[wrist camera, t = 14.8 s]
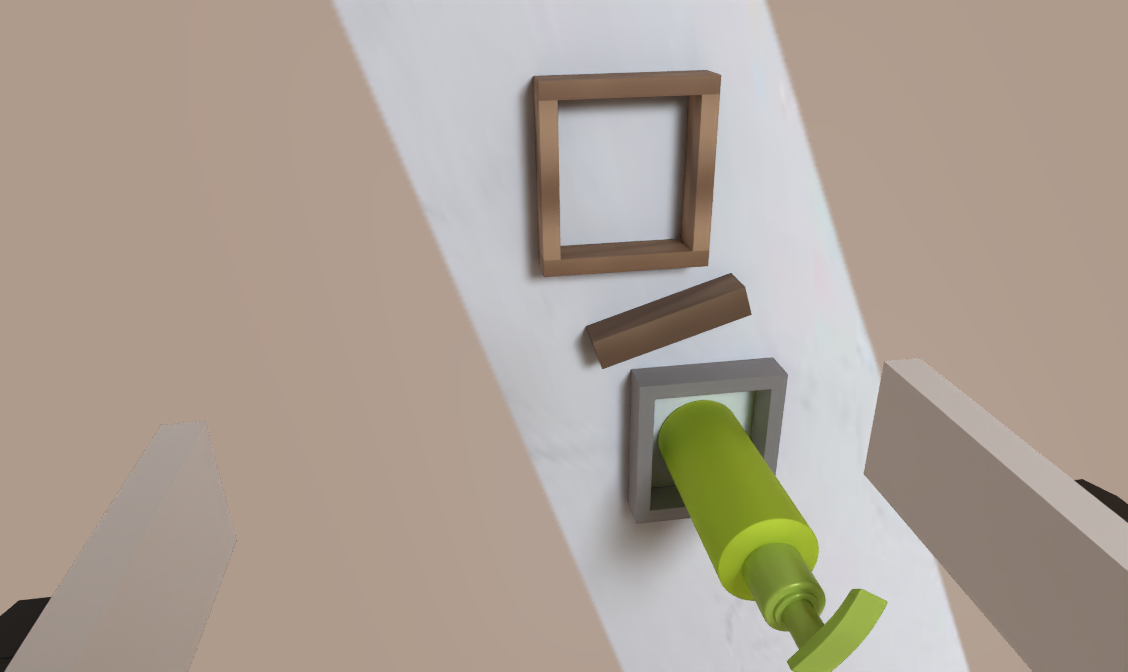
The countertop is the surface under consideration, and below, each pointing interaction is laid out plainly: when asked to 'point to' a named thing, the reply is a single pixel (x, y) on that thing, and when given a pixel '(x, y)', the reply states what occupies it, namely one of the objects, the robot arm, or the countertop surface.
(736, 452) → the soap dispenser
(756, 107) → the countertop surface
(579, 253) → the walnut holder
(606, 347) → the door edge rail
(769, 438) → the keeper frame
